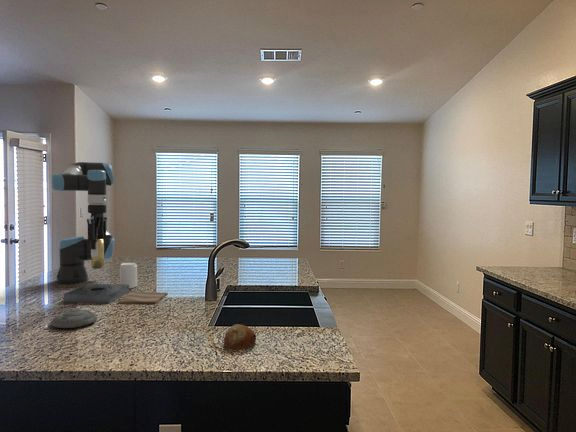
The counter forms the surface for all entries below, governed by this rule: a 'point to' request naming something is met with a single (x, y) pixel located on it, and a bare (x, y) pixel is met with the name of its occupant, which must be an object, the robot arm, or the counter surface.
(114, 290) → the bore block
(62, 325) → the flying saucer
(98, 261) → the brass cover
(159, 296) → the walnut pad
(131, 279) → the white cylinder
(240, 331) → the bread roll
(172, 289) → the counter surface
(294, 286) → the counter surface
